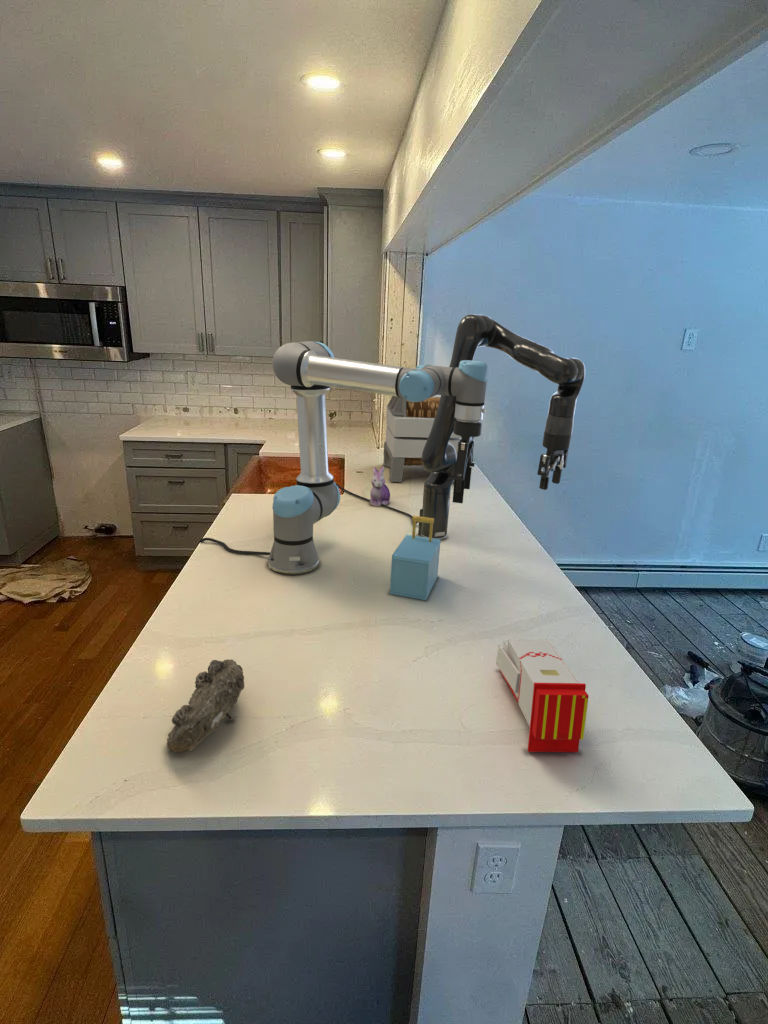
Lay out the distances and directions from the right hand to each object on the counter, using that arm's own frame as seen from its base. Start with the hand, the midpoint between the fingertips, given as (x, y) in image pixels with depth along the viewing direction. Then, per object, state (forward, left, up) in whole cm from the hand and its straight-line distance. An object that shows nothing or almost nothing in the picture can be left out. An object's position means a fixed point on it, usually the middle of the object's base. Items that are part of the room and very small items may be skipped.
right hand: (549, 486), depth 165 cm
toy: (+22, -60, -28) cm, 70 cm away
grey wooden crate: (-86, +70, -28) cm, 115 cm away
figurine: (-75, +21, -28) cm, 82 cm away
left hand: (-18, -20, -2) cm, 27 cm away
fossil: (-25, -103, -28) cm, 109 cm away
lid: (-25, -31, -17) cm, 43 cm away
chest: (-25, -31, -28) cm, 49 cm away
